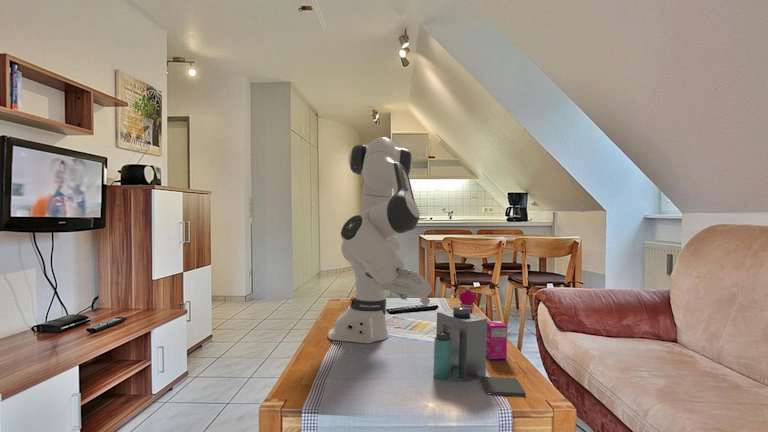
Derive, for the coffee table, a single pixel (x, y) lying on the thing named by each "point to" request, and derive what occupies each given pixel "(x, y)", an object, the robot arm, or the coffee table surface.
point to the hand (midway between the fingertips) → (415, 300)
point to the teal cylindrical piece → (442, 356)
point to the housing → (465, 341)
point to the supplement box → (496, 340)
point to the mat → (503, 386)
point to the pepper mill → (467, 298)
